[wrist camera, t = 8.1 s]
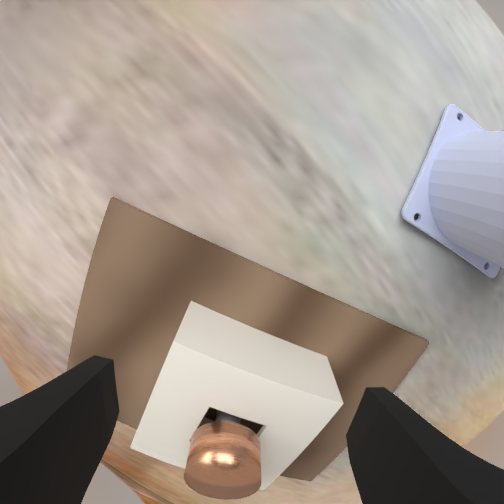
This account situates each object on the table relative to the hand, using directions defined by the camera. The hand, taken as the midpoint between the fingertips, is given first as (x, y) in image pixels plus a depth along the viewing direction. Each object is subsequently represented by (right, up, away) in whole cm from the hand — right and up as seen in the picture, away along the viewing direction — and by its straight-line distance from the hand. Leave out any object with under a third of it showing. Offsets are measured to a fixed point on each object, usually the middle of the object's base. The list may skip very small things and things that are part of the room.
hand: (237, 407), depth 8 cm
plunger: (-1, -4, +11) cm, 12 cm away
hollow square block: (-1, -4, +12) cm, 13 cm away
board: (-1, -4, +12) cm, 13 cm away
